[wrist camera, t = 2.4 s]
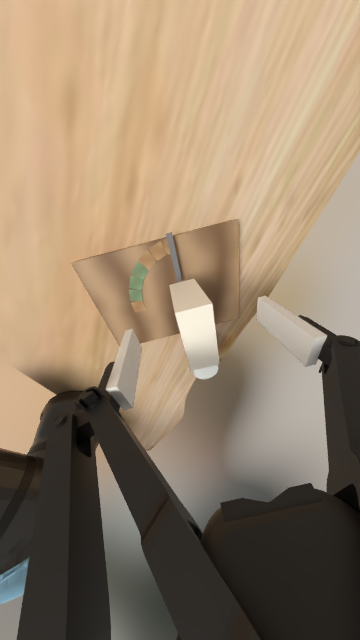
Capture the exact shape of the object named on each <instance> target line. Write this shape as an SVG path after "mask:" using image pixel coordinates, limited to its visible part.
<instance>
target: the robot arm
mask: <svg viewBox="0 0 360 640" xmlns="http://www.w3.org/2000/svg"><path fill="white" fill-rule="evenodd" d="M256 320H257V321H258V322H259V323H260V324H261V325H262V326H264V328H266V330H268V331H269V332H270V333H271V334H272V335H273V336H274V337H275V338H276V339H277V340H278V341H279V342H280V343H281V344H282V345H283V346H284V347H285V348H286V349H287V350H289V351H290V352H291V353H292V354H293V355H294V356H295V357H296V358H297V359H298V360H299V361H300V362H301V363H302V364H303V365H304V366H305V367H306V366H310V365H315V364H316V363H317V360H318V359H320V360H321V361H322V362H323V363H322V365H321V367H320V370H319V373H321V371H322V380H323V394H324V407H325V420H326V435H327V448H328V462H329V473H328V478H327V492H324V491H321V490H318V489H314V488H313V486H312V484H311V483H308V484H304V485H300V486H295V487H290V488H288V489H286V490H285V491H284V492H282V493H281V494H280V495H279V496H277V497H276V498H275V499H274V500H272V501H271V502H262V501H256V500H250V499H244V498H241V499H236V500H231V501H227V502H222V503H221V508H220V509H218V510H217V511H216V512H215V513H214V514H213V515H212V517H211V518H210V520H209V521H208V523H207V525H206V527H205V530H204V532H202V531H201V529H200V528H199V526H198V525H197V524H196V522H195V520H194V519H193V518H192V516H191V515H190V513H189V512H188V511H187V509H186V508H185V507H184V506H183V504H182V503H181V502H180V501H179V499H178V497H177V496H176V494H175V493H174V492H173V490H172V489H171V487H170V486H169V484H168V483H167V481H166V480H165V478H164V477H163V475H162V474H161V472H160V471H159V470H158V468H157V467H156V465H155V464H154V462H153V461H152V460H151V458H150V457H149V455H148V454H147V452H146V451H145V449H144V448H143V446H142V445H141V443H140V442H139V440H138V439H137V438H136V436H135V435H134V433H133V432H132V430H131V429H130V427H129V426H128V424H127V423H126V421H125V420H124V419H123V417H122V416H121V414H120V413H119V408H120V407H121V408H122V409H123V410H126V409H130V408H133V404H134V398H135V391H136V384H137V378H138V371H139V365H140V358H141V352H142V347H141V345H140V343H139V341H138V339H137V337H136V335H135V332H134V330H133V329H130V330H126V331H125V334H124V336H123V339H122V342H121V345H120V348H119V351H118V354H117V357H116V360H115V362H110V363H109V365H108V366H107V367H106V369H105V371H104V374H103V376H102V379H101V382H100V384H99V387H98V388H97V387H90V388H88V389H86V390H85V391H84V392H66V393H62V394H59V395H56V396H55V397H53V398H51V399H50V400H49V401H48V403H47V404H46V406H45V408H44V409H43V411H42V413H41V417H40V420H41V421H40V424H39V427H38V429H37V433H36V436H35V439H34V443H33V445H32V447H31V448H30V450H29V452H28V454H27V455H25V454H21V453H17V452H13V451H9V450H6V449H2V448H0V604H2V603H5V602H7V601H10V600H12V599H15V598H17V597H19V596H22V595H23V602H22V608H21V615H20V621H19V628H18V635H17V640H111V623H110V606H109V593H108V583H107V572H106V561H105V551H104V541H103V530H102V519H101V508H100V498H99V488H98V477H97V466H96V456H95V451H96V448H97V446H98V444H100V446H101V448H102V450H103V452H104V455H105V456H106V459H107V461H108V463H109V466H110V468H111V470H112V472H113V474H114V476H115V479H116V481H117V483H118V485H119V488H120V490H121V492H122V494H123V496H124V499H125V501H126V503H127V505H128V507H129V510H130V512H131V514H132V516H133V518H134V520H135V523H136V525H137V527H138V529H139V532H140V535H141V545H142V549H143V552H144V555H145V558H146V560H147V562H148V565H149V567H150V569H151V572H152V574H153V576H154V578H155V581H156V583H157V585H158V588H159V590H160V592H161V595H162V597H163V599H164V602H165V604H166V606H167V608H168V611H169V613H170V615H171V617H172V620H173V622H174V625H175V627H176V629H177V631H178V635H177V639H176V640H360V341H358V340H357V339H355V338H352V337H349V336H342V335H339V336H337V335H335V334H333V333H332V332H330V331H329V330H327V329H326V328H324V327H322V326H321V325H319V324H317V323H316V322H314V321H312V320H311V319H309V318H307V317H304V316H301V315H300V316H296V315H295V314H293V313H292V312H290V311H288V310H287V309H285V308H284V307H282V306H281V305H279V304H277V303H276V302H274V301H273V300H271V299H270V298H268V297H267V296H262V297H258V302H257V318H256Z"/></svg>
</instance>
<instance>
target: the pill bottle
mask: <svg viewBox="0 0 360 640" xmlns="http://www.w3.org/2000/svg"><path fill="white" fill-rule="evenodd" d="M217 371H218V365H214V366H210V367H206V368H202V369H198V370H194V371H193V373H194V375H195V376H196V377H197V378H199V379H208V378H211V377H213V376H214V375H215V374H216V373H217Z"/></svg>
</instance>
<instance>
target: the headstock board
mask: <svg viewBox="0 0 360 640" xmlns="http://www.w3.org/2000/svg"><path fill="white" fill-rule="evenodd" d="M173 241H174V245H175V250H176V255H177V259H178V264H179V268H180V273H181V277H182V281H179V282H183V281H186V280H190V279H195V281H196V282H197V283H198V285H199V286H200V287H201V289H202V290H203V291H204V293H205V294H206V296H207V297H208V298H209V300H210V301H211V302H212V305H213V313H214V322H215V324H217V323H221V322H225V321H229V320H233V319H237V318H239V233H238V219H236V220H230V221H226V222H223V223H219V224H215V225H211V226H207V227H204V228H200V229H196V230H192V231H188V232H185V233H181V234H177V235H173ZM71 265H72V266H73V268H74V270H75V271H76V273H77V275H78V276H79V278H80V280H81V282H82V283H83V285H84V287H85V288H86V290H87V292H88V293H89V295H90V297H91V299H92V300H93V302H94V304H95V305H96V307H97V309H98V310H99V312H100V314H101V316H102V317H103V319H104V321H105V322H106V324H107V326H108V327H109V329H110V331H111V333H112V334H113V336H114V338H115V339H116V341H117V343H118V344H119V346H120V345H121V342H122V339H123V336H124V334H125V331H126V330H130V329H133V330H134V332H135V335H136V337H137V339H138V341H139V343H143V342H147V341H151V340H155V339H159V338H163V337H167V336H171V335H174V334H178V333H180V330H179V327H178V323H177V319H176V316H175V312H174V307H173V302H172V297H171V292H170V287H169V285H171V284H175V283H179V282H177V279H176V275H175V270H174V266H173V262H172V258H171V253H170V249H169V245H168V241H167V237H166V238H162V239H158V240H154V241H150V242H147V243H143V244H139V245H135V246H131V247H128V248H124V249H120V250H116V251H112V252H109V253H105V254H101V255H97V256H93V257H90V258H86V259H82V260H78V261H76V262H73V263H71Z"/></svg>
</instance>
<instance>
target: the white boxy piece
mask: <svg viewBox="0 0 360 640" xmlns="http://www.w3.org/2000/svg"><path fill="white" fill-rule="evenodd" d="M166 237H167V241H168V245H169V249H170V253H171V258H172V262H173V266H174V270H175V275H176V279H177V282H179V281H182V277H181V273H180V268H179V264H178V259H177V255H176V250H175V245H174V241H173V236H172V232H170V233H167V234H166ZM169 287H170V292H171V297H172V302H173V307H174V312H175V316H176V319H177V323H178V327H179V330H180V334H181V337H182V341H183V345H184V348H185V352H186V355H187V359H188V363H189V366H190V370H191V371H194V370H198V369H202V368H206V367H210V366H214V365H218V364H219V356H218V347H217V339H216V330H215V322H214V313H213V305H212V302H211V301H210V300H209V298H208V297H207V296H206V294H205V293H204V291H203V290H202V289H201V287H200V286H199V285H198V283H197V282H196V281H195V279H190V280H186V281H183V282H179V283H175V284H171V285H169Z"/></svg>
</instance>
